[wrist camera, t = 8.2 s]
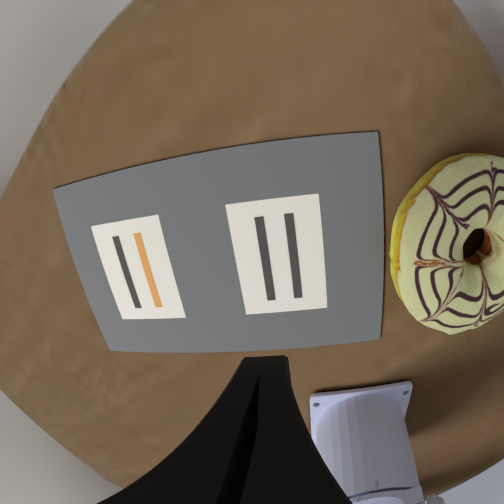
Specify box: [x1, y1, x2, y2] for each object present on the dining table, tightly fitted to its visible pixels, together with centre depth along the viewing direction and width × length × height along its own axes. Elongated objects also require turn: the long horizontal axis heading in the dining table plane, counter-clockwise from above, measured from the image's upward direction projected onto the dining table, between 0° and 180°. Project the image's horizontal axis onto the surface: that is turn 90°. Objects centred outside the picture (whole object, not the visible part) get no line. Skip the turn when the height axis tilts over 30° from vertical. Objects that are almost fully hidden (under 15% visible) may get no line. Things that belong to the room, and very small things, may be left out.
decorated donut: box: [389, 153, 504, 334], centre depth 15 cm, size 10×11×4 cm
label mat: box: [53, 132, 384, 353], centre depth 19 cm, size 13×20×1 cm, turn 99°
